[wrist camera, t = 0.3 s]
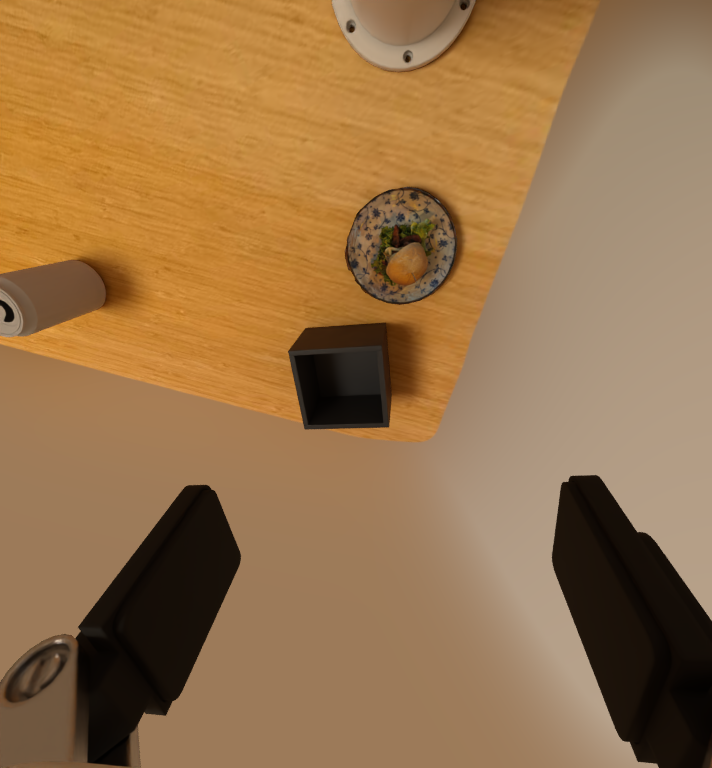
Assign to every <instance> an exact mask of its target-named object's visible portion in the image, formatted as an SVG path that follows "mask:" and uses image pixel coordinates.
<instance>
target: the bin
mask: <svg viewBox="0 0 712 768" xmlns="http://www.w3.org/2000/svg"><path fill="white" fill-rule="evenodd" d="M288 353H289V357H290V362H291V367H292V372H293V376H294V381H295V386H296V391H297V395H298V400H299V405H300V410H301V414H302V419H303V424H304V428H305V429H339V428H380V427H389V422H390V410H391V397H392V393H391V381H390V369H389V356H388V344H387V331H386V323H375V324H361V325H347V326H333V327H319V328H306V329H305V330H304V331H303V332H302V334H301V335H300V336H299V338H298V339H297V340H296V342H295V343H294V344H293V346H292V347H291V348H290V350H289V351H288Z"/></svg>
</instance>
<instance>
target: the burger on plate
mask: <svg viewBox="0 0 712 768" xmlns="http://www.w3.org/2000/svg"><path fill="white" fill-rule="evenodd" d="M456 250H457V237H456V233H455V227H454V224H453V221H452V219H451V216H450V215H449V213H448V211H447V210H446V208H445V207H444V206H443V205H442V203H441V202H440V201H439V200H438V199H437V198H435V197H434V196H432V195H431V194H430V193H428V192H426V191H423V190H421V189H418V188H413V187H404V188H400V189H392V190H388V191H386V192H383V193H381V194H379V195H378V196H376V197H374V198H373V199H372V200H371V201H370V202H368V203H367V204H366V205H365V206H364V207H363V208H362V209H361V210H360V211H359V212H358V213H357V215H356V218H355V220H354V223H353V225H352V228H351V231H350V233H349V236H348V238H347V247H346V250H345V258H346V263H347V266H348V270H350V271H351V272H352V274H353V275H354V277H355V281H356V282H357V284H359V285H360V286H361V289H362V290H363V291H364V292H365V293H367V294H369V295H370V296H372V297H374V298H376V299H378V300H381V301H384V302H386V303H391V304H399V305H400V304H408V303H412V302H416V301H420V300H422V299H424V298H425V297H427V296H429V295H431V294H433V293H434V292H435V290H437V289H438V288H439V287H440V286H441V285H442V284H443V282H444V281H445V279H446V278H447V276H448V275H449V273H450V271H451V269H452V266H453V264H454V261H455V256H456Z"/></svg>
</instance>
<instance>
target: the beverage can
mask: <svg viewBox="0 0 712 768" xmlns="http://www.w3.org/2000/svg"><path fill="white" fill-rule="evenodd" d="M105 299H106V289H105V286H104V283H103V281H102V279H101V278H100V276H99V275H98V274H97V272H96V271H95V270H94V269H93V268H91V267H90V266H89V265H87V264H85V263H83V262H81V261H77V260H68V261H63V262H58V263H53V264H48V265H43V266H38V267H33V268H28V269H23V270H18V271H13V272H8V273H3V274H0V336H4V337H14V336H28V335H31V334H33V333H36V332H39V331H41V330H44V329H46V328H49V327H52V326H54V325H57V324H60V323H62V322H65V321H68V320H70V319H73V318H76V317H78V316H81V315H84V314H86V313H89V312H92V311H94V310H97V309H99V308H100V307H101V306H102V305H103V304H104V302H105Z"/></svg>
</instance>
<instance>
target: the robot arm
mask: <svg viewBox="0 0 712 768" xmlns="http://www.w3.org/2000/svg"><path fill="white" fill-rule="evenodd" d="M475 2H476V0H332V5H333V9H334V12H335V15H336V18H337V21H338V24H339V26H340V28H341V30H342V32H343V34H344V36H345V38H346V39H347V41H348V42H349V44H350V45H351V47H352V48H353V49H354V50H355V51H356V52H357V53H358V54H359V55H360V56H361V58H363V59H364V60H366V61H367V62H369V63H370V64H372V65H373V66H375V67H378V68H381V69H383V70H387V71H395V72H402V71H410V70H414V69H417V68H420V67H422V66H425V65H427V64H428V63H430V62H431V61H433V60H435V59H436V58H438V57H439V56H440V55H441V54H442V53H443V52H444V51H446V50H447V49H448V48H449V47H450V46H451V44H452V43H453V42H454V41H455V39H456V38H457V37H458V35H459V34H460V33H461V31H462V29H463V27H464V26H465V24H466V22H467V20H468V19H469V17H470V14H471V12H472V9H473V7H474V4H475ZM462 4H465V5H466V9H465V10H461V8H460V6H461V5H462ZM351 27H354V28H355V30H354V32H353V33H351V32H350V28H351ZM407 56H409V57H410V58H411V60H410V62H406V61H405V58H406V57H407ZM240 560H241V554H240V551H239V548H238V546H237V544H236V541H235V539H234V537H233V534H232V531H231V529H230V526H229V524H228V521H227V519H226V516H225V514H224V512H223V509H222V506H221V504H220V501H219V499H218V497H217V494H216V492H215V491H214V490H211V488H210V487H209V486H208V485H189V486H186V487H185V488H184V489H183V490H182V492H181V493H180V494H179V495H178V497H177V498H176V499H175V500H174V502H173V503H172V504H171V506H170V507H169V508H168V510H167V511H166V512H165V514H164V515H163V516H162V517H161V519H160V520H159V521H158V523H157V524H156V525H155V527H154V528H153V529H152V531H151V532H150V534H149V535H148V536H147V537H146V538H145V540H144V541H143V542H142V544H141V545H140V546H139V548H138V549H137V550H136V552H135V553H134V554H133V556H132V557H131V558H130V560H129V561H128V562H127V563H126V565H125V566H124V567H123V569H122V570H121V571H120V573H119V574H118V575H117V577H116V578H115V579H114V580H113V582H112V583H111V584H110V586H109V587H108V588H107V590H106V591H105V592H104V594H103V595H102V596H101V598H100V599H99V600H98V602H97V603H96V604H95V606H94V607H93V608H92V609H91V611H90V612H89V613H88V615H87V616H86V617H85V619H84V620H83V621H82V623H81V624H80V625H79V626H78V628H79V629H80V630H81V632H80V633H79V634H78V636H77V637H76V638H74V637H73V636H72V635H66V634H62V635H57V636H53V637H51V638H48V639H46V640H44V641H42V642H40V643H39V644H37V645H36V646H34V647H33V648H31V649H30V650H29V651H27V652H26V653H25V654H24V655H23V656H21V658H19V659H18V660H17V661H16V662H15V663H14V664H13V666H12V667H11V668H10V669H9V670H8V671H7V673H6V674H5V676H4V677H3V679H2V680H1V682H0V768H141V766H140V751H139V736H138V723H139V721H140V719H141V717H142V715H143V713H144V712H145V713H146V714H156V715H166V714H167V712H168V710H169V708H170V705H171V703H172V701H174V700H176V699H177V698H178V697H179V696H180V694H181V692H182V690H183V688H184V686H185V684H186V681H187V679H188V677H189V675H190V673H191V671H192V668H193V666H194V664H195V662H196V660H197V657H198V655H199V653H200V651H201V649H202V646H203V644H204V642H205V640H206V638H207V635H208V633H209V631H210V629H211V627H212V624H213V622H214V620H215V618H216V615H217V613H218V611H219V609H220V607H221V604H222V602H223V600H224V598H225V596H226V594H227V591H228V589H229V587H230V585H231V583H232V580H233V578H234V576H235V574H236V572H237V569H238V567H239V565H240ZM552 562H553V567H554V571H555V573H556V576H557V579H558V581H559V584H560V587H561V589H562V592H563V594H564V597H565V600H566V602H567V605H568V607H569V610H570V612H571V615H572V618H573V620H574V623H575V625H576V628H577V631H578V633H579V636H580V638H581V641H582V644H583V646H584V649H585V651H586V654H587V657H588V659H589V662H590V664H591V667H592V669H593V672H594V675H595V677H596V680H597V682H598V685H599V688H600V690H601V693H602V695H603V698H604V701H605V703H606V706H607V708H608V711H609V713H610V716H611V719H612V721H613V724H614V726H615V729H616V731H617V733H618V735H619V737H620V738H621V739H622V740H623V741H626V742H630V744H631V746H632V749H633V751H634V753H635V756H636V758H637V761H638V762H646V763H656V764H658V767H659V768H712V621H711V620H710V618H709V616H708V615H707V614H706V612H705V611H704V609H703V608H702V607H701V605H700V604H699V603H698V601H697V600H696V598H695V597H694V595H693V594H692V593H691V591H690V590H689V588H688V587H687V585H686V584H685V583H684V581H683V580H682V578H681V577H680V576H679V574H678V573H677V571H676V570H675V569H674V567H673V566H672V564H671V563H670V561H669V560H668V559H667V557H666V556H665V554H664V553H663V552H662V550H661V549H660V547H659V546H658V545H657V543H656V542H655V541H654V540H653V539H652V538H651V536H649V535H648V534H646V533H643V532H637V531H636V530H635V528H634V527H633V525H632V524H631V523H630V521H629V519H628V518H627V516H626V515H625V514H624V512H623V511H622V509H621V508H620V506H619V505H618V503H617V502H616V500H615V499H614V497H613V496H612V494H611V493H610V491H609V490H608V488H607V487H606V485H605V484H604V482H603V481H602V480H601V479H600V477H599V476H597V475H590V476H571V477H570V478H569V481H568V482H563V483H562V485H561V491H560V499H559V507H558V514H557V522H556V529H555V537H554V545H553V552H552Z"/></svg>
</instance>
